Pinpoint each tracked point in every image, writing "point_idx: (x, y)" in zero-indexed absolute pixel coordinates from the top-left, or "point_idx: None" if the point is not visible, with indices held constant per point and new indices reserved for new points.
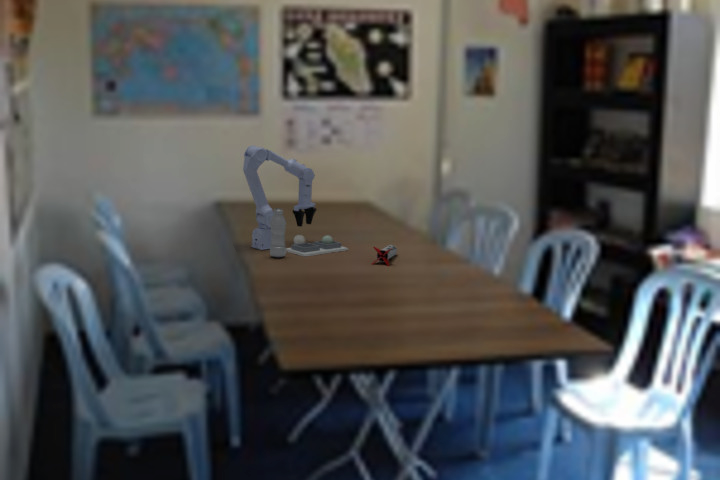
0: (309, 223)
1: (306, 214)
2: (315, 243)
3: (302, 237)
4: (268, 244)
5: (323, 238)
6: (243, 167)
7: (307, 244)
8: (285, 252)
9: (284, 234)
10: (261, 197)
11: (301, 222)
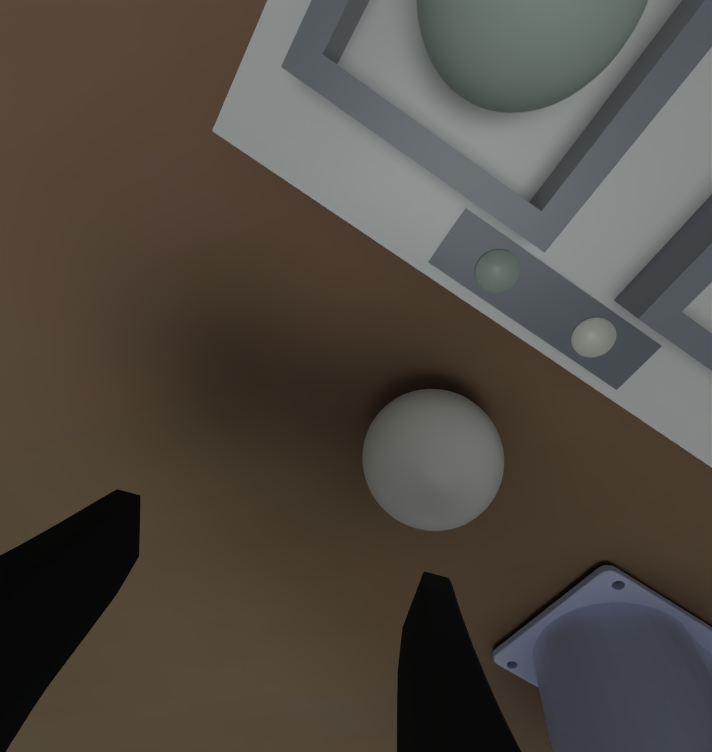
0: (132, 518)
1: (3, 733)
2: (576, 203)
3: (462, 441)
4: (707, 664)
5: (616, 36)
6: None
7: (684, 293)
8: None
9: None
10: None
11: (473, 648)
